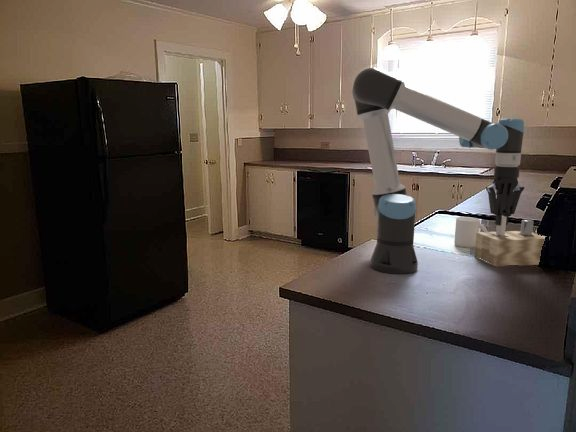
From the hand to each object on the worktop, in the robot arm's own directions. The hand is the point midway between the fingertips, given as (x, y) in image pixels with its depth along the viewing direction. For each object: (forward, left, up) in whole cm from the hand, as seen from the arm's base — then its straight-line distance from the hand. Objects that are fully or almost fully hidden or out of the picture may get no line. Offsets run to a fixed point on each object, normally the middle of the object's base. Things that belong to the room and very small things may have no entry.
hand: (500, 234), depth 150 cm
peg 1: (0, 0, -9) cm, 9 cm away
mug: (+2, +20, -10) cm, 22 cm away
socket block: (+5, 0, -10) cm, 11 cm away
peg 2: (+10, 0, -5) cm, 11 cm away
